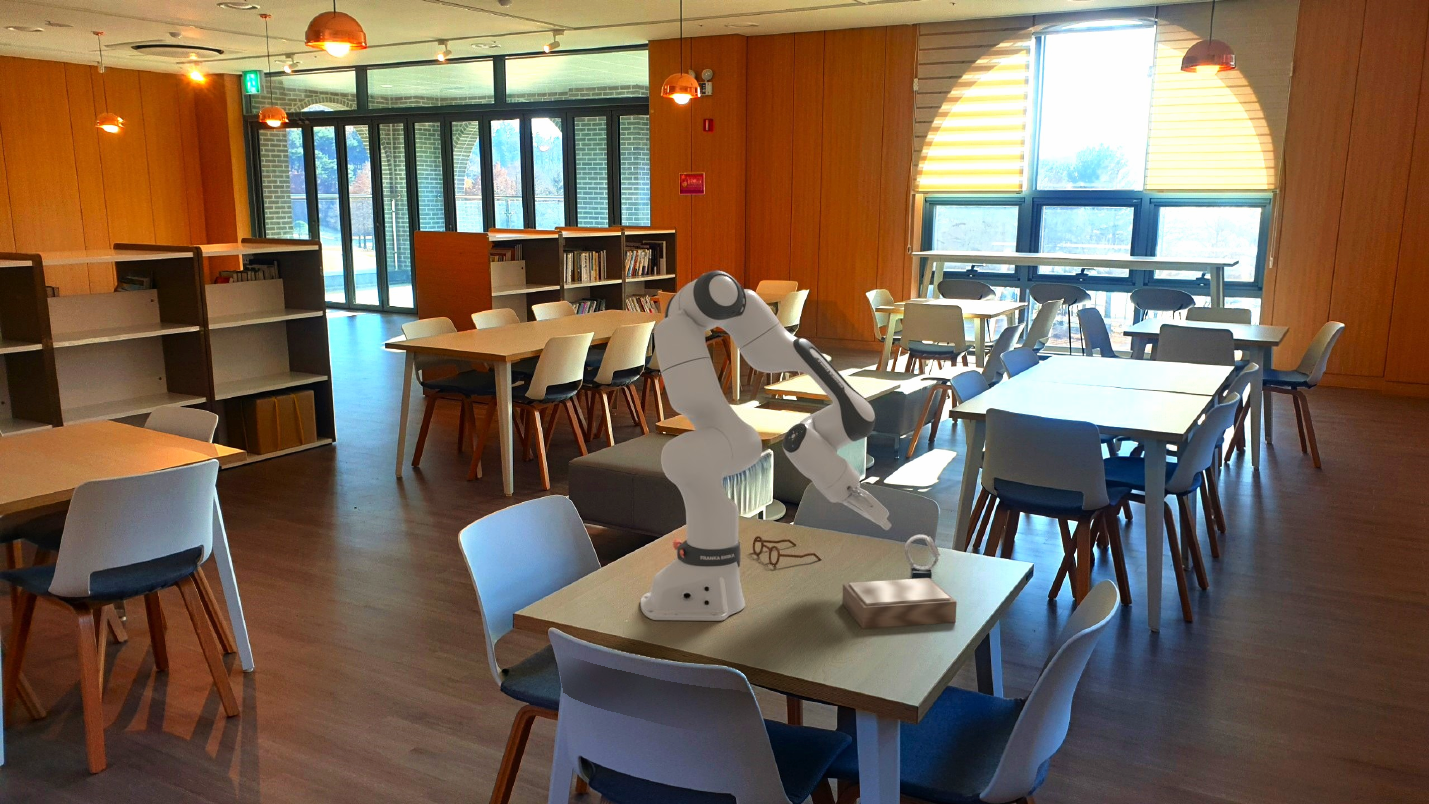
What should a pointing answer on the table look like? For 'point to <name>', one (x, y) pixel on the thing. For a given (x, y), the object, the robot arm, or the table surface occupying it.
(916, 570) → the watch
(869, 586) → the display riser
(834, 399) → the robot arm
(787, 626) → the table surface
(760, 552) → the glasses
